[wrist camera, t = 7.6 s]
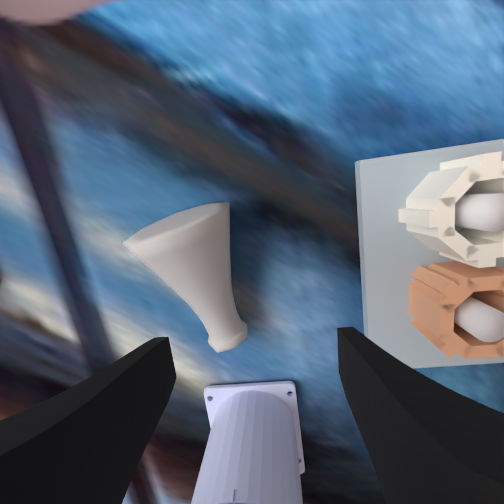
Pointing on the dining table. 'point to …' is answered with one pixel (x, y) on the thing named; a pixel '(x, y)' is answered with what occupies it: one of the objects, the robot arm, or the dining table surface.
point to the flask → (196, 266)
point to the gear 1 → (443, 209)
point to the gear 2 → (454, 305)
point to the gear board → (417, 253)
